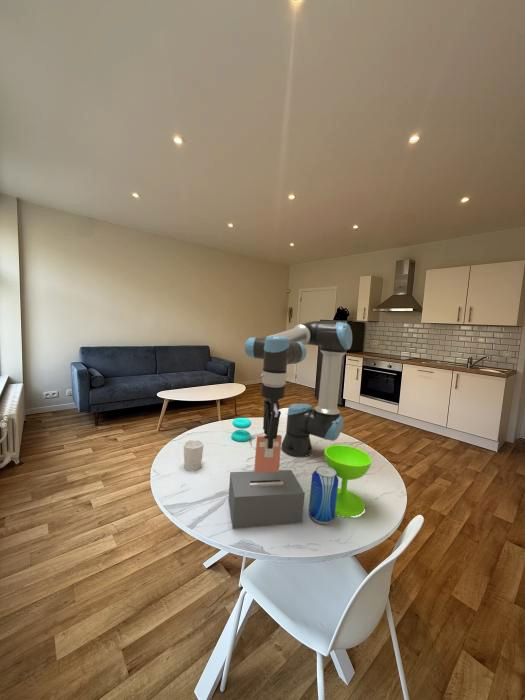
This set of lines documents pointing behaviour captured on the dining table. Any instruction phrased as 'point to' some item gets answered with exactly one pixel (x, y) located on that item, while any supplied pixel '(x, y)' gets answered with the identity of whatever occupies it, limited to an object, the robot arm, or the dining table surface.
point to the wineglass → (347, 476)
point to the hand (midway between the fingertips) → (267, 455)
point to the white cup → (193, 454)
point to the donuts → (241, 434)
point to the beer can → (323, 494)
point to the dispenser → (265, 499)
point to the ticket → (269, 462)
